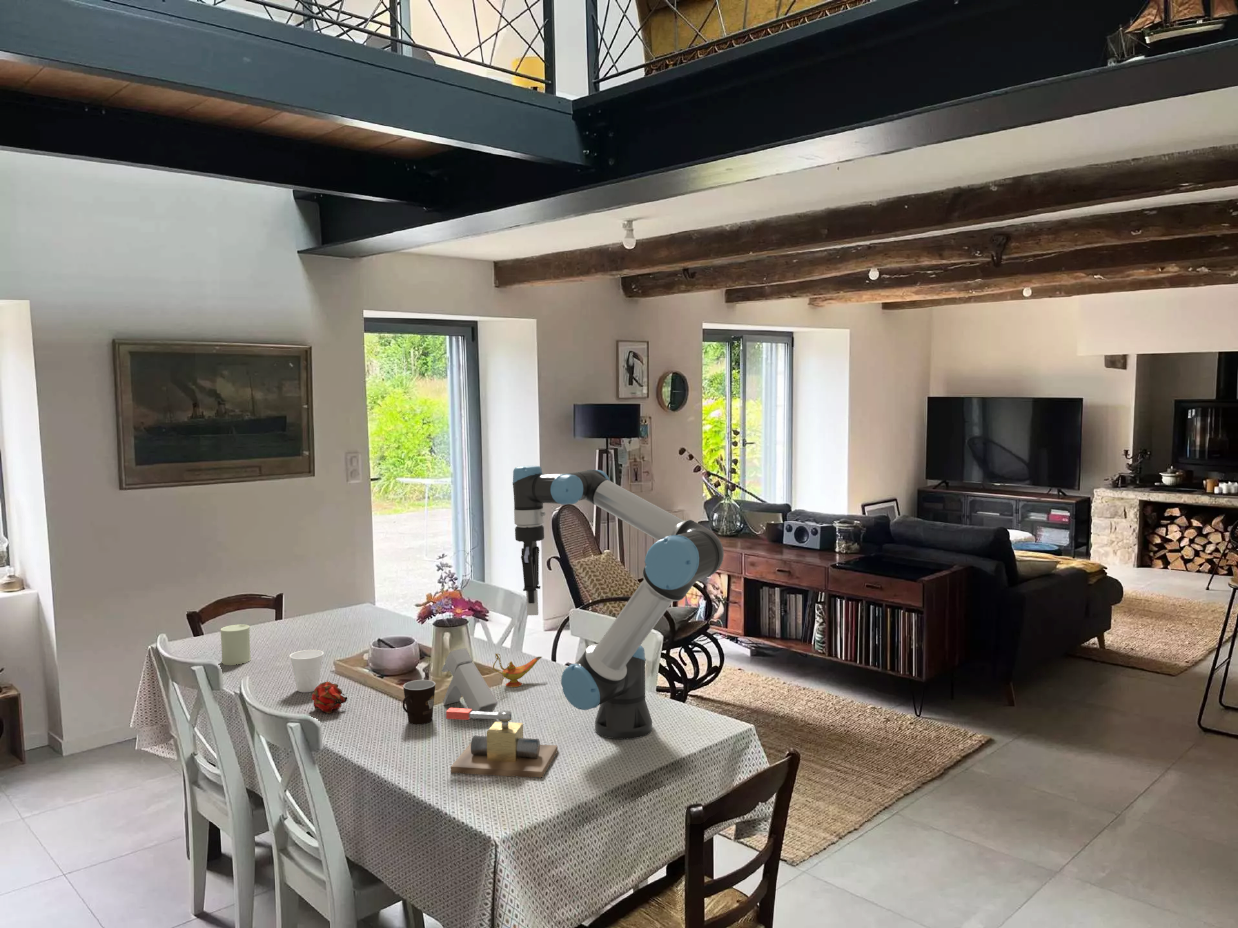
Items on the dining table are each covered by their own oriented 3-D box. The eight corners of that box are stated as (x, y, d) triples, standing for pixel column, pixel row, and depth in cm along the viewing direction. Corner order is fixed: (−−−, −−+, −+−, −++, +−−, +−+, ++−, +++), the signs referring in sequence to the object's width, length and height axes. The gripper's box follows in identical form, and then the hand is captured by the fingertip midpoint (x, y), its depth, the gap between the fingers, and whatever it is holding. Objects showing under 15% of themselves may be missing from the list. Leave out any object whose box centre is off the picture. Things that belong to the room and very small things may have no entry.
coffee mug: (425, 712, 255) (424, 677, 255) (442, 720, 249) (441, 684, 248) (388, 723, 247) (387, 687, 246) (405, 731, 241) (404, 694, 240)
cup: (305, 696, 270) (304, 660, 269) (283, 691, 275) (282, 655, 274) (332, 687, 278) (330, 652, 277) (310, 682, 283) (309, 647, 283)
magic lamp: (548, 679, 284) (548, 645, 283) (499, 692, 272) (498, 656, 271) (536, 674, 289) (535, 640, 288) (487, 686, 278) (486, 651, 277)
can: (257, 659, 309) (255, 625, 308) (232, 666, 301) (231, 631, 300) (240, 655, 314) (238, 621, 313) (215, 662, 306) (214, 627, 305)
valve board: (557, 751, 227) (557, 745, 227) (542, 777, 211) (541, 771, 211) (472, 746, 230) (472, 740, 230) (450, 772, 214) (450, 766, 214)
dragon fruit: (320, 708, 264) (340, 725, 256) (298, 698, 258) (317, 714, 250) (337, 682, 266) (357, 698, 258) (315, 671, 261) (335, 686, 252)
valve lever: (513, 717, 221) (513, 710, 221) (509, 722, 218) (509, 714, 218) (450, 714, 224) (450, 707, 224) (445, 719, 221) (445, 711, 220)
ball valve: (541, 751, 223) (540, 716, 222) (534, 763, 216) (533, 726, 215) (478, 748, 225) (477, 713, 224) (469, 759, 218) (468, 723, 218)
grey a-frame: (479, 706, 246) (448, 648, 257) (460, 741, 255) (431, 684, 265) (499, 701, 250) (467, 644, 261) (479, 735, 259) (450, 679, 269)
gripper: (539, 528, 231) (542, 620, 232) (547, 521, 244) (551, 608, 245) (509, 528, 231) (513, 620, 233) (520, 522, 244) (523, 609, 246)
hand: (532, 614), depth 239 cm, fingers closed
